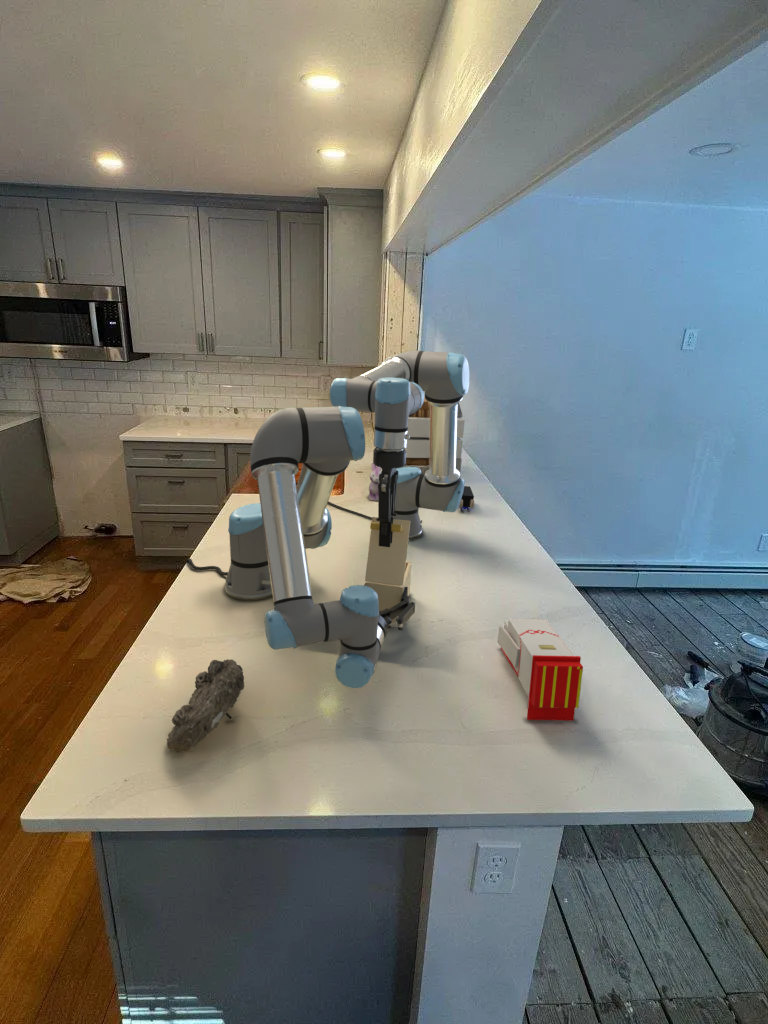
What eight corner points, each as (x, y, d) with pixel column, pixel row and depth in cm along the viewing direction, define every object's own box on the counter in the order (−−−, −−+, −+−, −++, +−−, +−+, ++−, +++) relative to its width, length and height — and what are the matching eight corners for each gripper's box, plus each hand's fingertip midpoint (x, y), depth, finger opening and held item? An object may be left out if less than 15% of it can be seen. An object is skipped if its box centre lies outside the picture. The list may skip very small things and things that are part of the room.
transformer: (382, 463, 289) (386, 382, 275) (445, 464, 293) (451, 384, 279) (390, 482, 257) (394, 392, 243) (460, 483, 261) (468, 394, 247)
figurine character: (474, 517, 223) (468, 500, 237) (476, 499, 220) (470, 484, 233) (457, 516, 223) (452, 500, 236) (459, 499, 220) (454, 483, 233)
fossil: (192, 660, 117) (244, 628, 112) (224, 691, 120) (276, 661, 115) (142, 746, 98) (202, 712, 93) (182, 779, 101) (242, 748, 96)
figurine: (373, 502, 230) (374, 466, 225) (362, 495, 239) (363, 460, 234) (393, 500, 234) (395, 464, 229) (382, 492, 243) (383, 458, 238)
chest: (375, 589, 159) (377, 557, 156) (409, 593, 158) (411, 561, 154) (364, 617, 145) (365, 582, 142) (401, 622, 144) (403, 587, 140)
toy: (543, 604, 136) (592, 662, 106) (538, 656, 138) (584, 727, 109) (493, 603, 135) (528, 661, 106) (489, 655, 138) (522, 726, 109)
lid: (373, 517, 143) (366, 513, 135) (410, 521, 142) (406, 518, 133) (365, 580, 142) (358, 581, 133) (403, 585, 141) (399, 586, 132)
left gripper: (319, 642, 128) (344, 596, 149) (416, 656, 125) (428, 607, 145) (319, 613, 126) (344, 570, 146) (419, 626, 122) (430, 581, 143)
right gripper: (401, 457, 121) (395, 558, 129) (411, 442, 135) (405, 534, 142) (366, 454, 122) (363, 554, 130) (380, 440, 136) (376, 531, 144)
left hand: (386, 589), depth 146 cm, fingers closed on chest, 10 cm apart
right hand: (385, 543), depth 136 cm, fingers closed on lid, 2 cm apart
